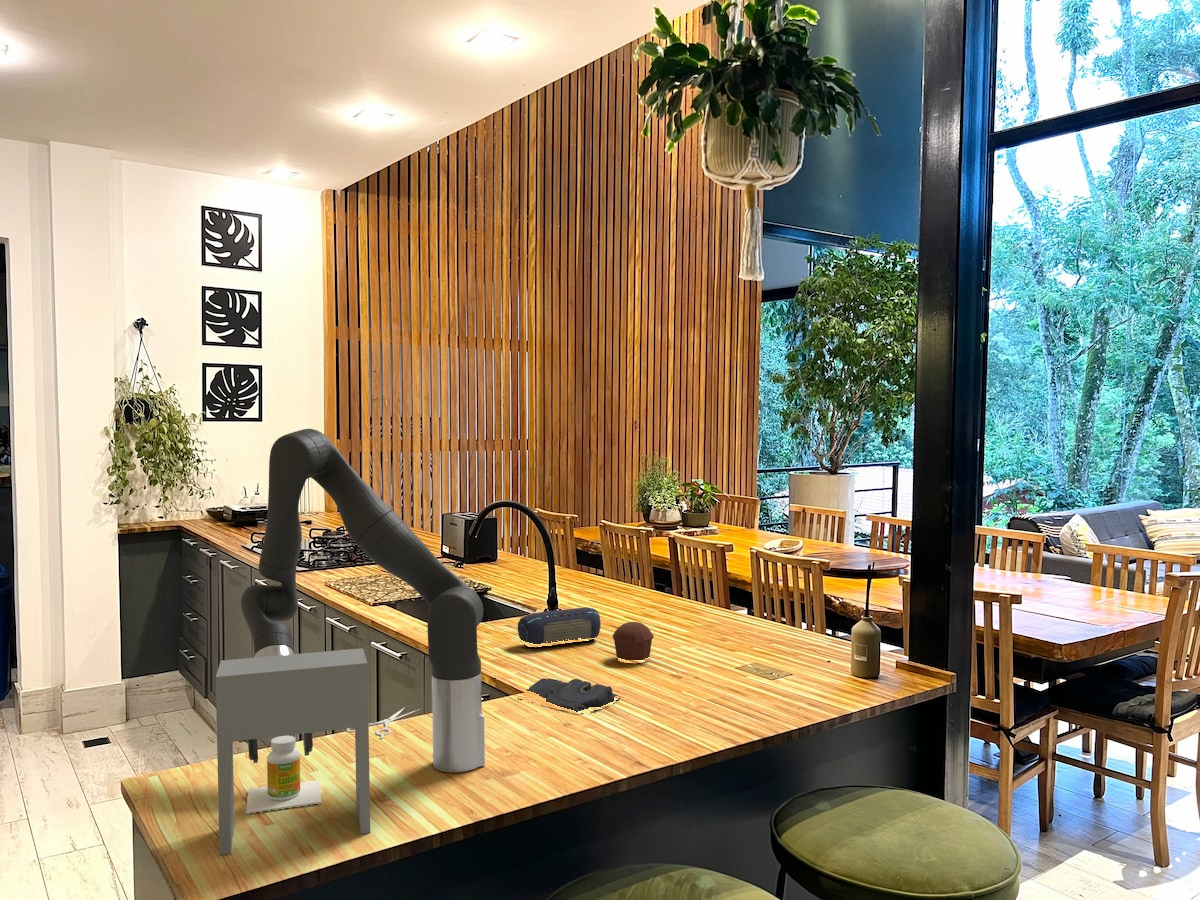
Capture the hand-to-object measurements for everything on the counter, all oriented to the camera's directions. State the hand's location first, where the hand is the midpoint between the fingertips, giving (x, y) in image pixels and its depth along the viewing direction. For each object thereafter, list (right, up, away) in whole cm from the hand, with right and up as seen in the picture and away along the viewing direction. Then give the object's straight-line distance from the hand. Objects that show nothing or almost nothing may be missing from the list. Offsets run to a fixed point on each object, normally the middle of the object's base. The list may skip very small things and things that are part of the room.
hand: (281, 757), depth 158 cm
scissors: (+10, -6, +38) cm, 40 cm away
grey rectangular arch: (+8, -7, -15) cm, 18 cm away
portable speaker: (+44, -3, +105) cm, 115 cm away
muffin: (+65, -3, +87) cm, 109 cm away
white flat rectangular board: (+1, -6, -2) cm, 7 cm away
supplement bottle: (+1, -6, -2) cm, 6 cm away
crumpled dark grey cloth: (+49, -5, +52) cm, 71 cm away
